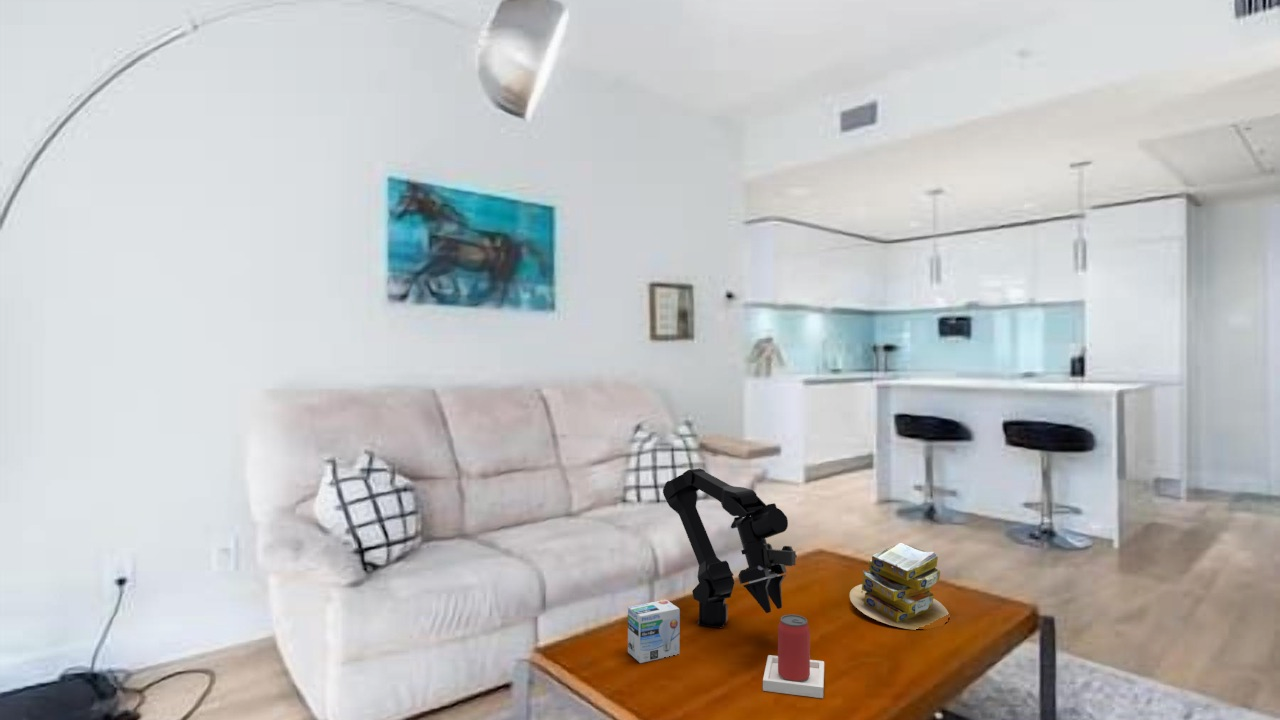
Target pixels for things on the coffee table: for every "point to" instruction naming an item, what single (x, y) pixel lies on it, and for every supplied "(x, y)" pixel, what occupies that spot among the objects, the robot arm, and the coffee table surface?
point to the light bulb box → (653, 630)
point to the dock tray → (804, 688)
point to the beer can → (793, 648)
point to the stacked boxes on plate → (900, 588)
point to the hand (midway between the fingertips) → (774, 610)
